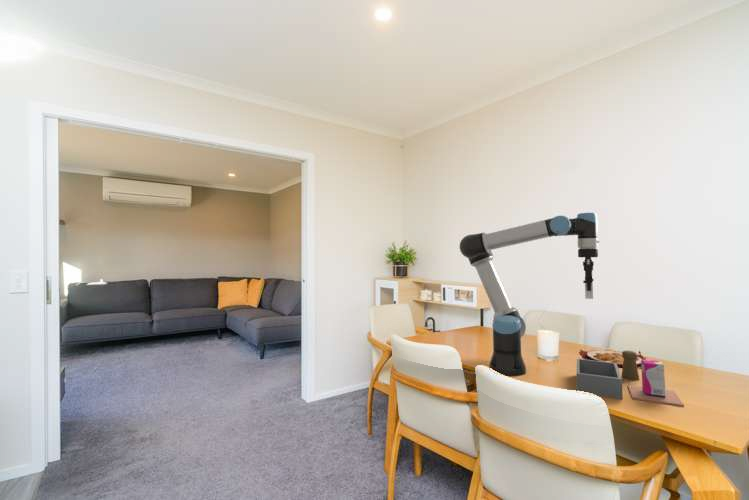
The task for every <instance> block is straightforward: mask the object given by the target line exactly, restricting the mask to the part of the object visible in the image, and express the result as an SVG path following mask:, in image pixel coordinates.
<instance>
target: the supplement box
mask: <svg viewBox="0 0 749 500" xmlns="http://www.w3.org/2000/svg"><path fill="white" fill-rule="evenodd" d="M641 367H642V369H641V384H642V386H641V387H642V390H643V391H644V393H645V394H646V395H648V396H656V397H664V398H665V390H666V382H665V381H666V379H665V365H664V364H663V362H661V361H660V360H651V359H646V360H641Z"/></svg>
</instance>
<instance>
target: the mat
mask: <svg viewBox="0 0 749 500" xmlns="http://www.w3.org/2000/svg"><path fill="white" fill-rule="evenodd" d="M627 388H628V391H629V394H630V396H631V399H632V400H637V401H643V402H652V403H656V402H658V403H657V404H663V403H665V404H664V405H669V404H671V406H676V405H677V406H676V407H683V408H684V407H685V405H684V403H683V401H682V400H681V398H680V397H679V396H678V394H677V393H676V391H675V390H669V389H665V398H664V397H656V396H648V395H646V394H645V393H644V391H643V390H642V386H640V385H639V386H638V385H631V384H627Z"/></svg>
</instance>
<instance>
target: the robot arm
mask: <svg viewBox="0 0 749 500" xmlns="http://www.w3.org/2000/svg"><path fill="white" fill-rule="evenodd" d="M598 235H599V233H598V216H597V214H596V213H595V212H580V213H578V214H577V215H576V217H575V218H568V217H567V216H565V215H556V216H554V217H552V218H547V219H544V220H539V221H535V222H531V223H527V224H524V225H518V226H515V227H514V226H513V227H510V228H506V229H502V230H498V231H493V232H489V233H485V232H480V233H475V234H473V233H472V234H468V235H465V236H464V237H463V238H462V239H461V240H460V242H459V252H460V253H461V254H462V255H463V257H464V258H467V259H468V261H469V264H470V266H472V267H474V268H475V269H476V272H477V274H478V276H479V279H480V282H481V283H482V285H483V288H484V291H485V293H486V295H487V298H488V300H489V303H490V305H491V307H492V309H493V311H494V314H493V316H492V317H493V319H492V343H493V347H492V348H493V352H492V355H491V358H490V361H489V369H490V368H492V369H493V370H495V371H497V372H499V373H501V374H500V375H502V374H504V375H503V376H512V377H514V376H522V375H525V374H526V373H527V368H526V363H525V361H524V357H523V356H522V341H521V339H522V338H523V336H524V335H525V333H526V329H527V328H526V322H525V321H524V318H522V317H521V315H520V312H519V311H518V309H517V308H515V307H514V306H513V305H512V304H511V301H510V299H509V297H508V295H507V294H508V293H507V291H506V290H505V287H504V285H503V283H502V280H501V278H500V276H499V274H498V271H497V270H496V267H495V265H494V263H493V259H494V254H493V252H492V250H496V249H500V248H505V247H509V246H514V245H519V244H523V243H528V242H532V241H535V240H536V241H537V240H542V239H545V238H550V237H564V236H565V237H566V236H577V248H578V249H577V257H578V258H585V259H584V261H582V266H583V271H584V280H583V281H582V282H583V284H584V290H585V291H584V292H585V293H584V296H585V299H588V300H593V299H594V289H593V288H594V286H593V282H594V278H593V270H594V264H595V263H594V261H593V260H592V258H598V257H599V249H598V247H599V244H598V243H600V240H599V239H598Z"/></svg>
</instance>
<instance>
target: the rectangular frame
mask: <svg viewBox="0 0 749 500" xmlns="http://www.w3.org/2000/svg"><path fill="white" fill-rule="evenodd" d="M585 359H586V358H576V373H575V374H576V377H575V378H576V391H577V390H579V391H584V392H589V393H593V394H596V395H595V396H598V397H605V398H612V399H619V400H623V378H622V377H621V376H622V374H621V372H620V370H619V369H620V368H619V367H618V366H617V363H612V362H603V361H594V360H585Z"/></svg>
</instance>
